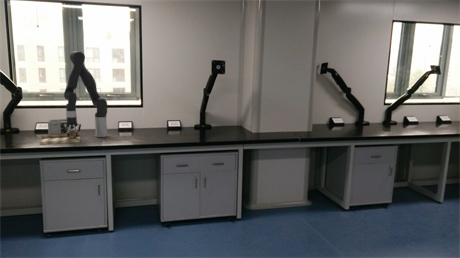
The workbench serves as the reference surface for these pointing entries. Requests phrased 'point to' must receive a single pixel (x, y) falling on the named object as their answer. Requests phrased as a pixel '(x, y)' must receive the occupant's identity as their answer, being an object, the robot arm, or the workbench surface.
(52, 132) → the geiger counter
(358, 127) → the workbench surface
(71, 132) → the brown boxy piece
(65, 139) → the maple board
